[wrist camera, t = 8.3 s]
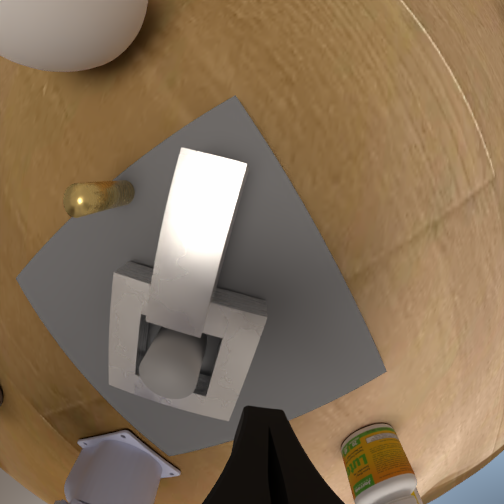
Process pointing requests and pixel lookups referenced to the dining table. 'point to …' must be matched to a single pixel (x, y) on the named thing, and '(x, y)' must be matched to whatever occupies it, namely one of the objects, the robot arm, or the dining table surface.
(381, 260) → the dining table surface
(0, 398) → the plant pot
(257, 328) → the square nut with handle
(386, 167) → the dining table surface
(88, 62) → the white squeeze bulb
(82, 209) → the dowel
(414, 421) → the dining table surface
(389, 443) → the supplement bottle
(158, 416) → the base
